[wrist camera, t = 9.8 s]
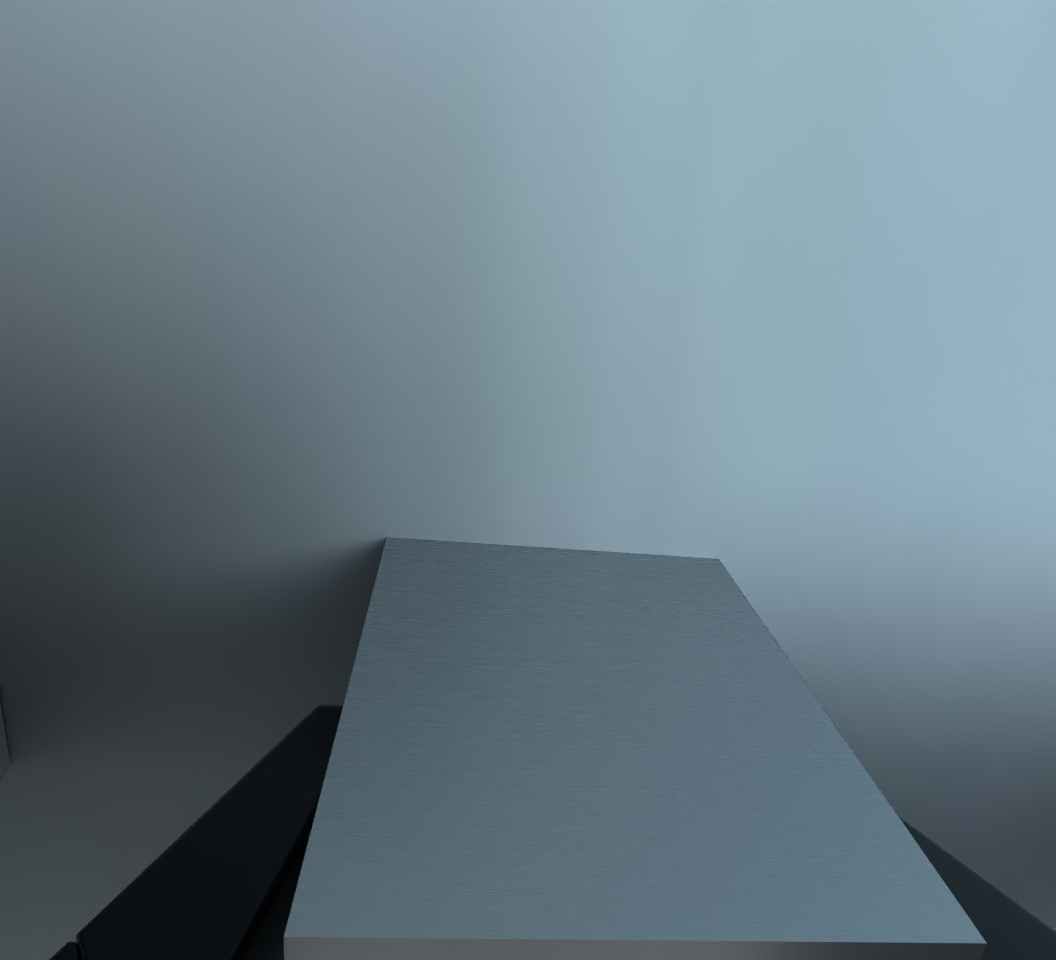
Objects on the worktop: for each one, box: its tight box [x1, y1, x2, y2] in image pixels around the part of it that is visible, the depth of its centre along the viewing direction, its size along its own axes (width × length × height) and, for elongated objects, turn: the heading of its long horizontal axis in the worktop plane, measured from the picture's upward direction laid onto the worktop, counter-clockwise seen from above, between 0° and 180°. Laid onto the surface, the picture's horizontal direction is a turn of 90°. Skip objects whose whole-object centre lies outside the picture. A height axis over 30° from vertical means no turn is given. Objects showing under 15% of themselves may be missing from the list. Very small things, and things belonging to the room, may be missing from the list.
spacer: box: [284, 537, 987, 960], centre depth 7 cm, size 4×4×5 cm
